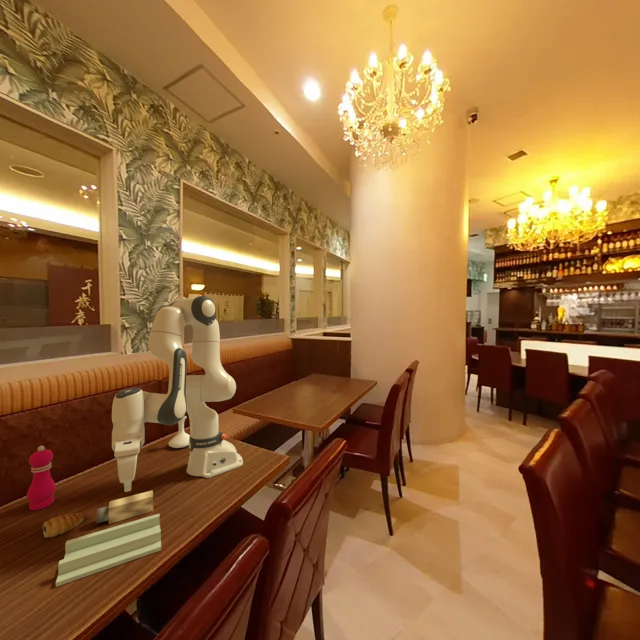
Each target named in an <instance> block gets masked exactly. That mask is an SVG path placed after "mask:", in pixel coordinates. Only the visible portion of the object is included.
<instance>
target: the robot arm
mask: <svg viewBox="0 0 640 640" xmlns="http://www.w3.org/2000/svg"><path fill="white" fill-rule="evenodd" d="M216 317H217V305H216V303H215V302H214V300H213V299H212V298H211V297H208V296H205V295H204V296H203V295H198V296H191V297H190V296H189V297H186V298H182V299H181V300H180V299H178V300H175V301H173V302H171V303H170V304H169V305H168V306H164V307H161V308H160V309H159V310H158V312H157V314H156V316H155V318H154V321H153V323H152V326H151V329H150V332H149V337H148V340H147V341H148V342H147V348H148V351H149V352H150V353H151V354H152V355H153V357H155V358H157V359H158V360H160V361H162V362H164V363H165V364H166V365H167V366H168V370H169V375H168V390H167V393H156V392H148V391H145V390H142V388H140V387H134V386H133V387H128V388H124V389H121V390H119V391H118V392H116V393H115V395H114V398H113V400H112V405H111V421H112V425H113V427H112V431H111V449H112V450H113V455H114V458H116V464H117V465H116V466H117V476H118V480H119V483H120V484H123V487H124V488H123V489H124V492H125V493H127V492H131V490H132V482H133V481H134V480H135V477H136V470H137V463H138V461H137V460H138V455H139V453H140V451H141V448H142V447H143V445H144V444H145V423H155V424H156V423H157V424H161V425H166V426H175V425H176V424H178V422H179V421H180V420H181V419H182V418H183V417H184V416H186V413H187V415H188V419H189V428H190V429H189V430H190V434H189V435H190V437H189V445H188V448H189V458H188V463H187V467H186V474H187V475H190V476H192V477H193V476H194V477H203V478H206V479H209V478H213V477H214V476H218V475H220V474H223V473H227V472H229V471H231V470H234V469H237V468H241V467H242V466H243V464H244V460H243V457H242V455H240V453H238V451H237V448H236V446H234V444H232V443H231V442H230V441H227V440H226V439H227V435H226V434H224V432H222V431H221V430H219V429H220V428H219V427H220V426H219V425H220V424H219V421H220V420H219V414H218V413H217V411H216V410H215V409H212V408H210V407H209V406H207V404H206V403H207V402H209V403H210V402H222V401H227V400H230V399H232V398H233V396H234V395H235V393H236V390H237V384H236V381H235V379H234V378H233V376H231V375H230V374H229V373H228V372H227V371H226V370H225V368H224V367H223V364H222V362H221V355H220V354H221V352H220V350H221V349H220V348H221V346H220V345H221V335H220V332H221V331H220V326H219V322H218V319H216ZM186 326H191V328H192V331H193V333H192V334H193V335H192V344H191V345H192V346H191V360H192V362H193V363H194V364H195V365H197V366H199V367H200V368H203V370H204V373H205V374H199V375H197V374H192V375H187V372H188V371H187V370H188V358H187V353H186V351H185V350H184V348H183V336H184V332H185V328H186Z"/></svg>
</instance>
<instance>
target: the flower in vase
mask: <svg viewBox="0 0 640 640" xmlns="http://www.w3.org/2000/svg"><path fill="white" fill-rule="evenodd" d="M186 419H187V416H186V415H184V417H183V418H182V419H181V420H180V421H179V422H177V424H178V432H177V433H176V434H175V435H174V436H173V437H172V438H171V439H170V440H169V442H168V446H169V447H171V448H173V449H180V448H186V447H189V437H190V435H191V434H188V433H186V431H185V421H186Z"/></svg>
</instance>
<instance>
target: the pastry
mask: <svg viewBox="0 0 640 640" xmlns="http://www.w3.org/2000/svg"><path fill="white" fill-rule="evenodd" d="M84 518H85V517H84V515H83V513H82V512H75V513H74V512H72V513H71V512H70V513H65V514H60V515H58V516H57V517H51V518H50V519H49V520H47V521H44V523H43V525H42V531H43V532H42V534H43V536H44V538H45V539H46V538H47V539H49V538H50V539H51V538H55V537H57V536H58V535H62V534H64V533H67V531H70V530H72V529H74V528H76V527H77V526H79V525H80V524H81V523H83V521H84Z"/></svg>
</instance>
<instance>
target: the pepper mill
mask: <svg viewBox="0 0 640 640" xmlns="http://www.w3.org/2000/svg"><path fill="white" fill-rule="evenodd" d="M45 447H46V446H44V445H40V446H38V447H37V451H34V452H32V454H31V455H30V456H29V459H28V464H29V466H31V470H30V472H31V473H32V481H31V484H30V486H29V487H28V490H27V493H26V499H27V500H28V501H30V502H29V503H28V508H29V510H30V511H39V510H42V509H45V508H47V507H49V506H50V505H52V504H54V502H55V495H54V494H55V492H56V490H57V486H56V483H55V481H54V479H53V478H52V476H51V472H50V470H51V468H52V460H53V458H54V453H53V451H52V450H51V449H47V448H45Z"/></svg>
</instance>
